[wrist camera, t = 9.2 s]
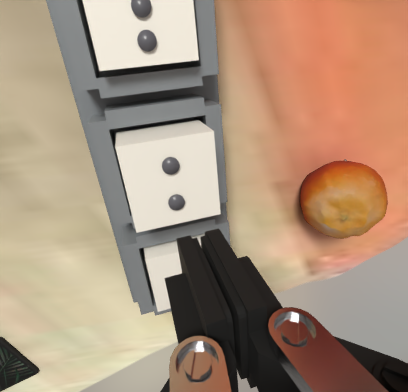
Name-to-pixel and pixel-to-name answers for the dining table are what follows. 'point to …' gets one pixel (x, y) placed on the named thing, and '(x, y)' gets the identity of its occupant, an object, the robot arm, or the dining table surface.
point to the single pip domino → (163, 268)
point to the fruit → (343, 199)
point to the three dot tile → (141, 32)
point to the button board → (141, 125)
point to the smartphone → (13, 366)
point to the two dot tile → (169, 173)
